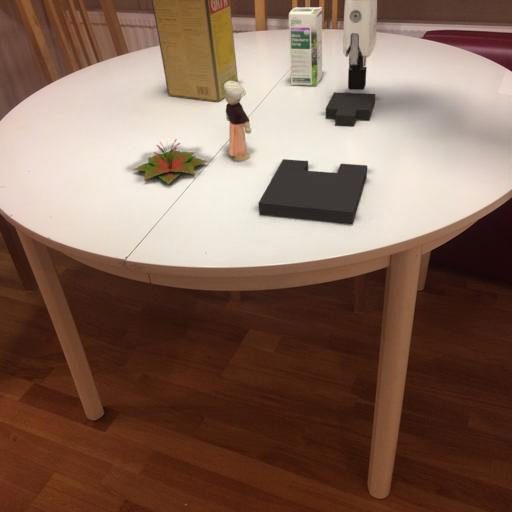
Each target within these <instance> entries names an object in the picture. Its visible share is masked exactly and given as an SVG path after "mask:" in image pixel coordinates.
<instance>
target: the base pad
mask: <svg viewBox="0 0 512 512" xmlns="http://www.w3.org/2000/svg"><path fill="white" fill-rule="evenodd" d="M367 177H368V165H367V164H353V163H340V165H339V167H338V169H337V172H331V171H317V170H309V161H308V160H299V159H287V158H284V159H282V160H281V162H280V164H279V166H278V167H277V169H276V171H275V173H274V174H273V176H272V178H271V179H270V182H269V183H268V185H267V186H266V189H265V190H264V192H263V194H262V196H261V197H260V199H259V201H258V202H257V203H258V213H259V216H266V217H275V218H285V219H294V220H303V221H314V222H322V223H331V224H332V223H334V224H340V225H341V224H342V225H354V222H355V219H356V215H357V211H358V208H359V204H360V201H361V197H362V194H363V192H364V188H365V184H366V180H367Z"/></svg>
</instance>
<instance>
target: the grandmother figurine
mask: <svg viewBox="0 0 512 512" xmlns="http://www.w3.org/2000/svg"><path fill="white" fill-rule="evenodd" d="M224 89H225V91H226V93H225V98H224V99H225V101H226V103H227V104H226V105H225V114H226V115H225V116H226V117H225V120H226V121H227V122H229V132H228V133H229V135H228V136H229V137H228V138H229V139H228V150H227V155H228V156H230V157H233V159H234V160H235V161H236V162H244V161H246V160H247V159H249V158H251V154H250V153H249V152H248V148H247V141H246V134H251V133H252V128H251V123H250V118H249V117H248V115H247V113H246V112H245V110H244V107H243V105H242V104H241V100H242V99H243V97H244V96H246V94H247V91H246V90H245V88H244V87H243V85H242V84H241V83H240V82H239V81H238V82H235V81H228V82H226V83H225V84H224Z"/></svg>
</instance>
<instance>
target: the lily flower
mask: <svg viewBox="0 0 512 512" xmlns="http://www.w3.org/2000/svg"><path fill="white" fill-rule="evenodd" d="M177 141H178V139H177V138H176V139H175V140H174V142H173V143H172V145H171V147H170V149H169V150H168V151H167V150H166V148H165V147H164V145H163V143H162V142H161V141H159V144H160V145H161V146H162V147H161V146H160V145H158V144H157V145H156V144H155V145H156V147H157V148H158V149H159V150H160V151H161V153H158V152H156V151H154V152H153V154H154V155H152V156H148V157H147V161H148V162H146V163H143V164H140V165H138V166H137V167H136V168H135V167H134V168H133V169H131V170H133V171H139V172H144V178H143V181H142V182H145V181H147V180H148V179H151V178H153V177H156V176H158V178H159V179H161V180H162V181H163V182H166V184H167V185H170V183H171V182H173V181H174V180H175V179H176V178H178V177H179V176H180V175H181V173H185V174H191V175H195V176H197V174H196V171H195V167H197V166H199V165H203V164H205V163H209V162H210V161H208V160H205V159H202V158H199V157H193V156H194V155H195V154H196V153H197V152H196V151H181V150H177V149H178V148H177V146H180V145H181V142H178V143H177V144H176V145H175V146H174V144H175V143H176V142H177ZM166 143H167V145H168V142H166ZM192 157H193V158H192Z"/></svg>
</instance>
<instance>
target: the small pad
mask: <svg viewBox="0 0 512 512" xmlns="http://www.w3.org/2000/svg"><path fill="white" fill-rule="evenodd" d="M375 105H376V93H368V92H367V93H366V92H338V91H337V92H336V91H333V93H332V95H331V97H330V99H329V101H328V103H327V105H326V107H325V119H326V120H327V119H328V120H334V125H335V126H339V127H341V126H343V127H354V126H355V124H356V122H357V121H370V119H371V116H372V113H373V110H374V108H375Z"/></svg>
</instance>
